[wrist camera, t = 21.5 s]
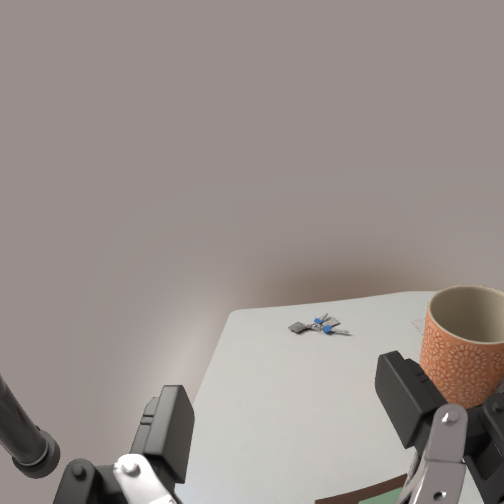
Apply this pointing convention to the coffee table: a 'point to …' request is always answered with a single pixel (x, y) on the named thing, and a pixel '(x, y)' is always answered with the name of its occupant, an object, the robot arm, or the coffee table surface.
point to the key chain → (326, 329)
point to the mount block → (365, 492)
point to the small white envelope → (420, 325)
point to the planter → (465, 343)
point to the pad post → (384, 498)
